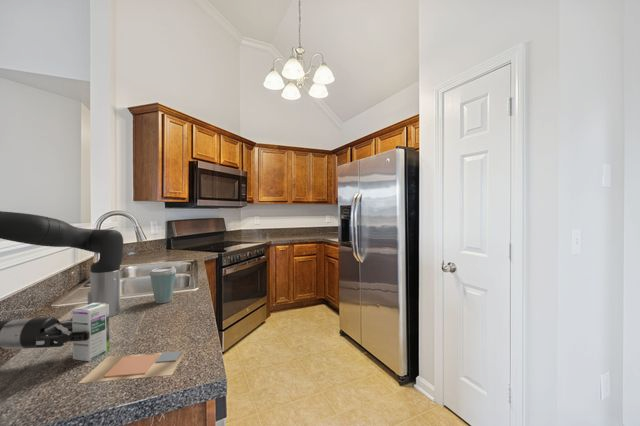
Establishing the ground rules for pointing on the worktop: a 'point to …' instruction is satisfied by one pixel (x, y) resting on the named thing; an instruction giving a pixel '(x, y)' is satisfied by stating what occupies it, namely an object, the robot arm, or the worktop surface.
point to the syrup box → (91, 331)
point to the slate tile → (169, 356)
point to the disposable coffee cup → (163, 283)
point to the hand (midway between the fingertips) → (98, 328)
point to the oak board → (153, 371)
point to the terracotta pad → (132, 365)
